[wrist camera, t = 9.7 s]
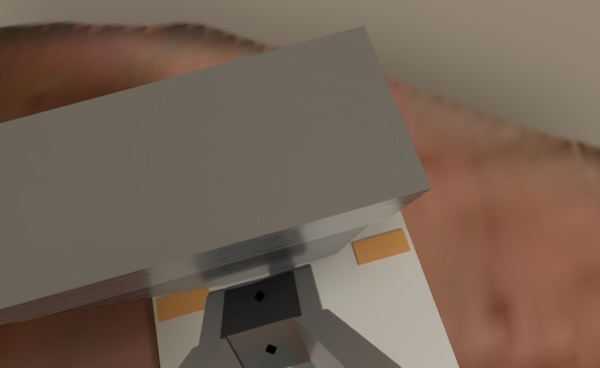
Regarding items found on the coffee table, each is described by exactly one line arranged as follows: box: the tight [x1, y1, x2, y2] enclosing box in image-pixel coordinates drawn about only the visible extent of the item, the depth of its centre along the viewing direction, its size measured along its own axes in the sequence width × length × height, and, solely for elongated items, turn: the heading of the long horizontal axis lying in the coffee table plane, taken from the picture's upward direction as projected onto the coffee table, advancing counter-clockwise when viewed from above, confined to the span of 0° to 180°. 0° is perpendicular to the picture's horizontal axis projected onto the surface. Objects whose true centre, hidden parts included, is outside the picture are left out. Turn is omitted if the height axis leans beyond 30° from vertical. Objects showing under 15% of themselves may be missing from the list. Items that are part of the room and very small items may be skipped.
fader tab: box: [0, 26, 431, 325], centre depth 8 cm, size 6×2×11 cm, turn 105°
